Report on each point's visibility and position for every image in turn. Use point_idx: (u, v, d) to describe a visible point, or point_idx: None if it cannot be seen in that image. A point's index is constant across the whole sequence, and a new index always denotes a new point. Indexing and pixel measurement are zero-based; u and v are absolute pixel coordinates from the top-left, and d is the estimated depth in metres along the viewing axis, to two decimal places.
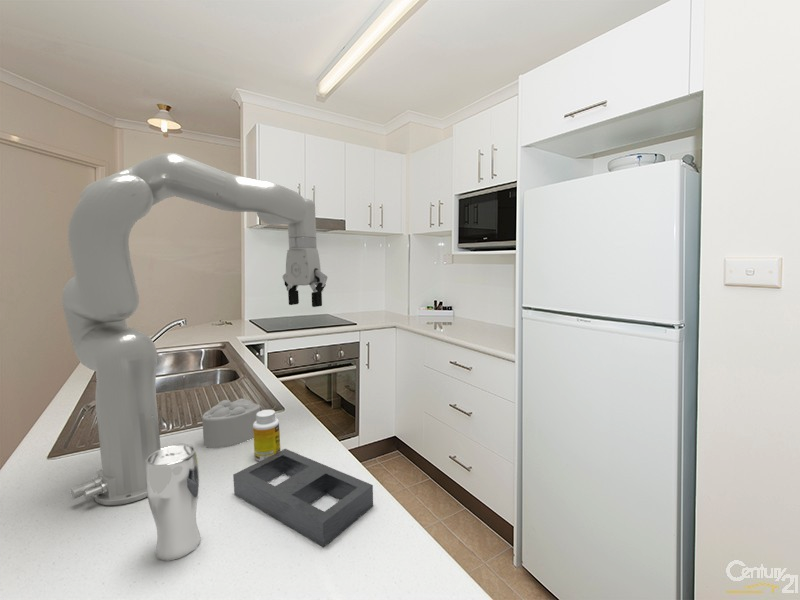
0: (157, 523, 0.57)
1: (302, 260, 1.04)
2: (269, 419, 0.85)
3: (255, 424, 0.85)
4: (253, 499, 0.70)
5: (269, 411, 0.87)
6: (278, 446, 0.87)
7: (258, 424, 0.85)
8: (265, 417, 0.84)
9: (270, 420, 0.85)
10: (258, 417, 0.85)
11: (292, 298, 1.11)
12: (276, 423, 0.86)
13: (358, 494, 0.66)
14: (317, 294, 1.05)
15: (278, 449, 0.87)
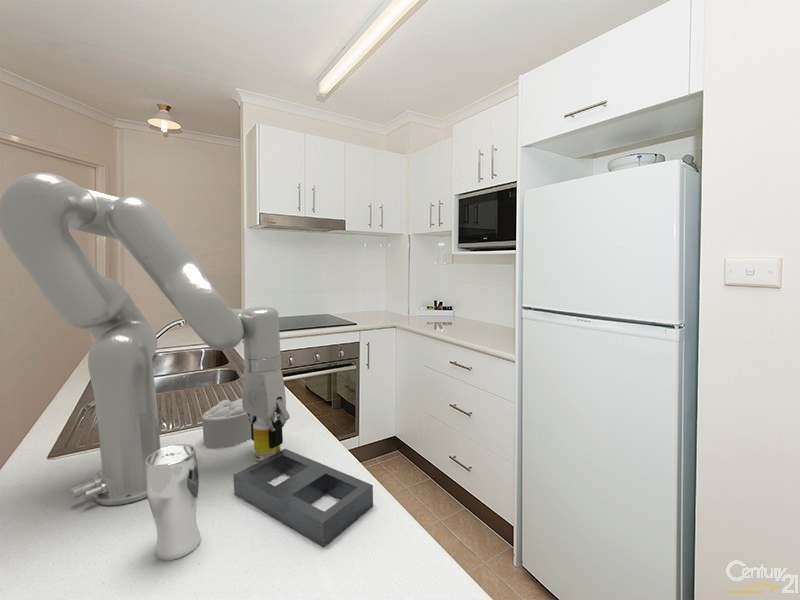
0: (157, 523, 0.57)
1: (261, 388, 0.82)
2: None
3: (255, 424, 0.85)
4: (253, 499, 0.70)
5: None
6: (278, 446, 0.87)
7: (258, 424, 0.85)
8: None
9: None
10: (258, 417, 0.85)
11: None
12: None
13: (358, 494, 0.66)
14: (275, 433, 0.84)
15: (278, 449, 0.87)
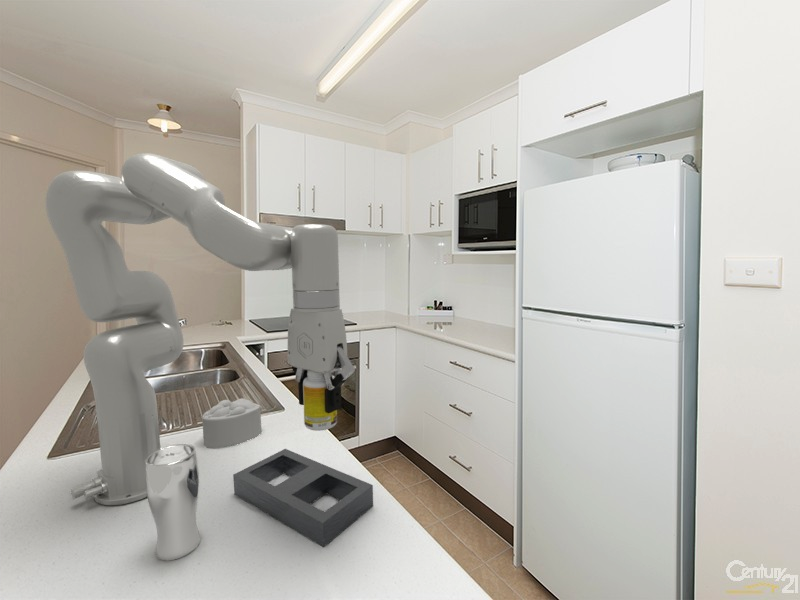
0: (157, 523, 0.57)
1: (316, 331, 0.61)
2: None
3: (306, 381, 0.64)
4: (253, 499, 0.70)
5: None
6: (335, 411, 0.65)
7: (310, 381, 0.64)
8: None
9: None
10: (311, 371, 0.64)
11: None
12: None
13: (358, 494, 0.66)
14: (334, 392, 0.63)
15: (335, 415, 0.65)
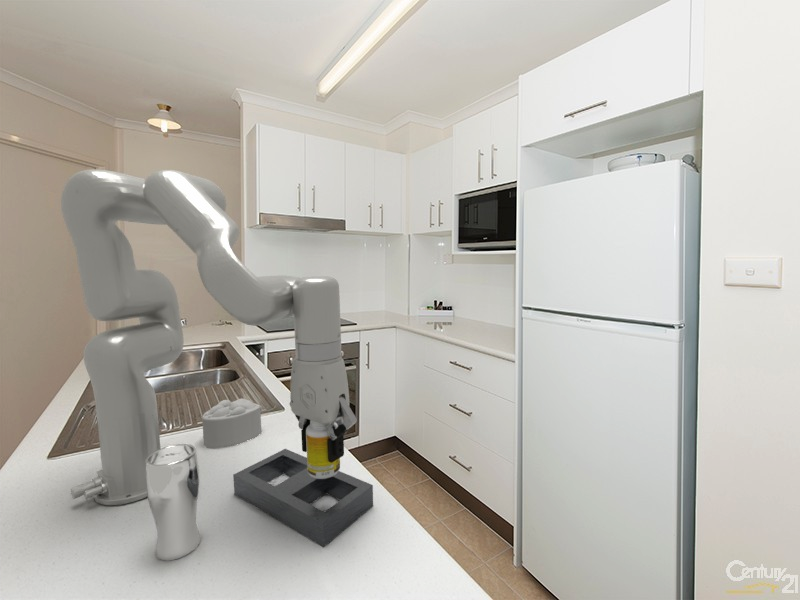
0: (157, 523, 0.57)
1: (319, 383, 0.61)
2: None
3: (309, 430, 0.65)
4: (253, 499, 0.70)
5: None
6: None
7: (313, 430, 0.64)
8: None
9: None
10: (313, 421, 0.64)
11: None
12: None
13: (358, 494, 0.66)
14: (337, 442, 0.63)
15: (338, 462, 0.66)
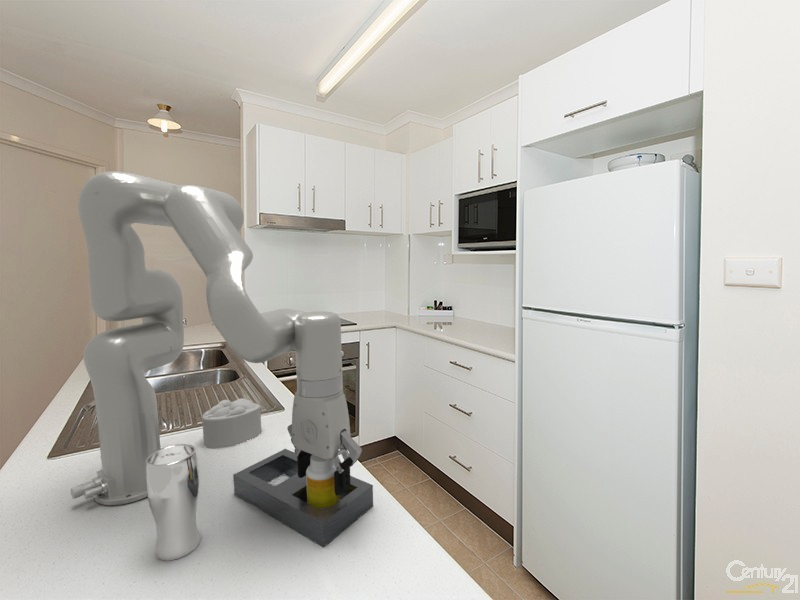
0: (157, 523, 0.57)
1: (320, 419, 0.62)
2: (327, 466, 0.65)
3: (309, 472, 0.66)
4: (253, 499, 0.70)
5: None
6: (338, 499, 0.67)
7: (313, 472, 0.65)
8: (323, 463, 0.65)
9: (329, 466, 0.66)
10: (314, 463, 0.65)
11: (304, 467, 0.69)
12: (336, 470, 0.66)
13: (358, 494, 0.66)
14: (343, 474, 0.63)
15: None
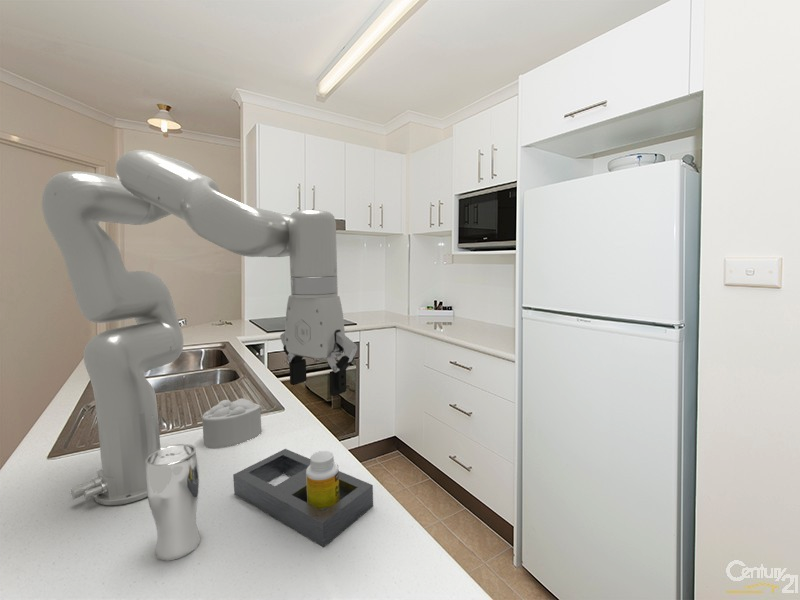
0: (157, 523, 0.57)
1: (314, 317, 0.60)
2: (327, 465, 0.65)
3: (309, 472, 0.66)
4: (253, 499, 0.70)
5: (326, 453, 0.68)
6: (338, 499, 0.67)
7: (313, 472, 0.65)
8: (322, 463, 0.65)
9: (329, 466, 0.66)
10: (314, 463, 0.65)
11: (296, 374, 0.67)
12: (335, 470, 0.66)
13: (358, 494, 0.66)
14: (339, 375, 0.61)
15: None
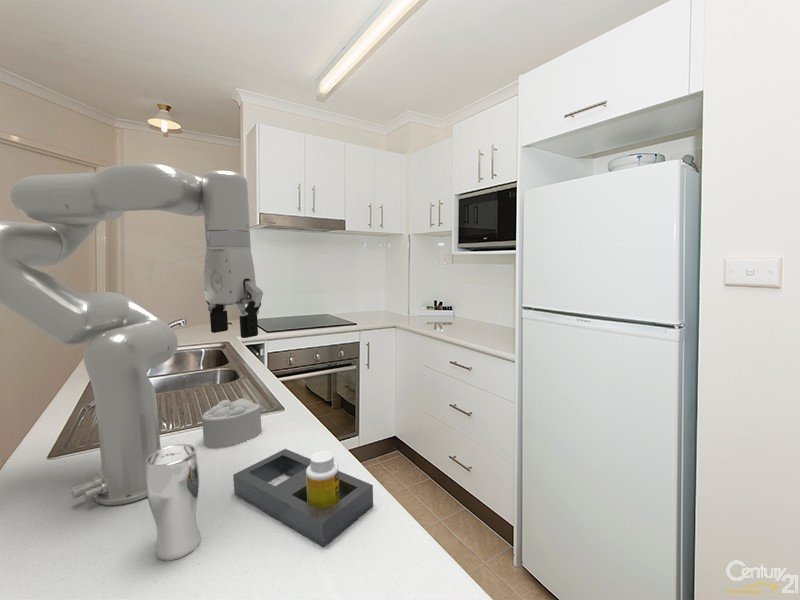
0: (157, 523, 0.57)
1: (224, 266, 0.67)
2: (327, 466, 0.65)
3: (309, 472, 0.66)
4: (253, 499, 0.70)
5: (326, 453, 0.68)
6: (338, 499, 0.67)
7: (313, 472, 0.65)
8: (322, 463, 0.65)
9: (329, 466, 0.66)
10: (314, 463, 0.65)
11: (216, 323, 0.74)
12: (335, 470, 0.66)
13: (358, 494, 0.66)
14: (248, 319, 0.68)
15: None
